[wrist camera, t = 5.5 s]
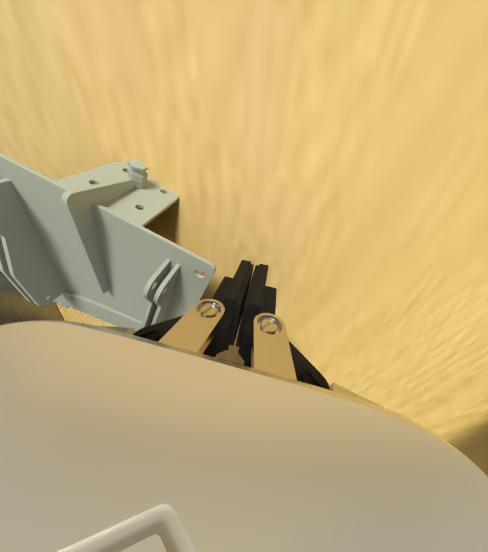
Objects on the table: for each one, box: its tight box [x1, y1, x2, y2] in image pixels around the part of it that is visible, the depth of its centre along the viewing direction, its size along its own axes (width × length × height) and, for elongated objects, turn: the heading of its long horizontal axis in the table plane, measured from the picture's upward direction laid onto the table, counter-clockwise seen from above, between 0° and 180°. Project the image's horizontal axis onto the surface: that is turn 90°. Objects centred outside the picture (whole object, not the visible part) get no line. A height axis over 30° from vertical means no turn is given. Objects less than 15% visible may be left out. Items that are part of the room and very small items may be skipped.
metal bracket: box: [0, 153, 216, 331], centre depth 12 cm, size 14×6×15 cm
